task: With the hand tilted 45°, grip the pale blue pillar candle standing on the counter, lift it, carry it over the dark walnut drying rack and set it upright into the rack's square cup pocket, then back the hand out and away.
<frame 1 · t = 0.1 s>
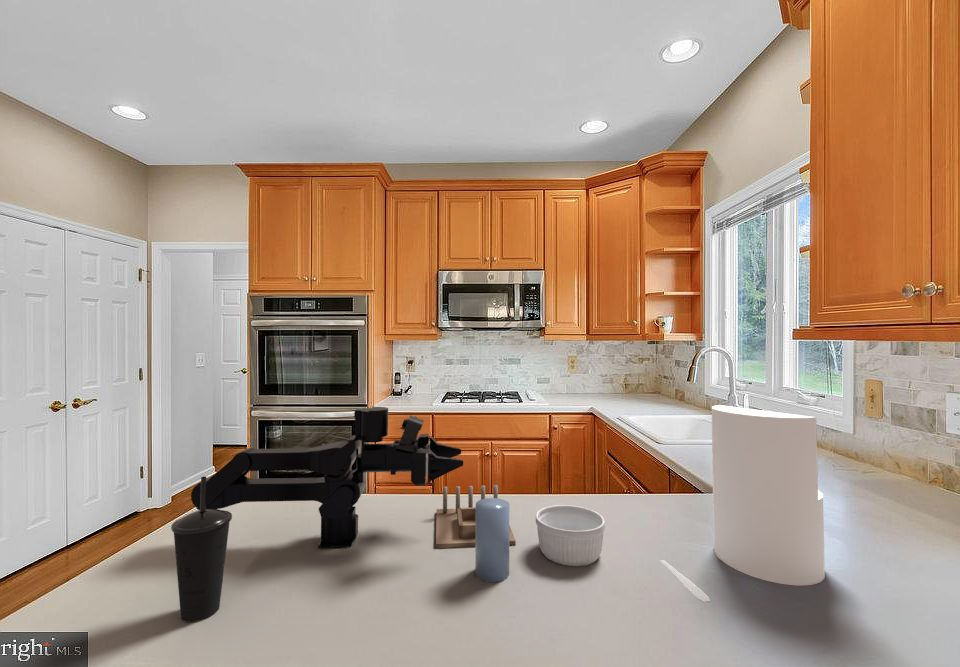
hand: (462, 456, 89), 17 cm above the countertop, tool horizontal, fingers open, 9 cm apart
butter knife: (659, 562, 79), on the countertop
ramekin: (570, 554, 82), on the countertop
drinking cup: (200, 613, 63), on the countertop
pale blue pillar candle: (492, 572, 74), on the countertop
drying rack: (472, 527, 93), on the countertop
cylinder: (766, 560, 79), on the countertop
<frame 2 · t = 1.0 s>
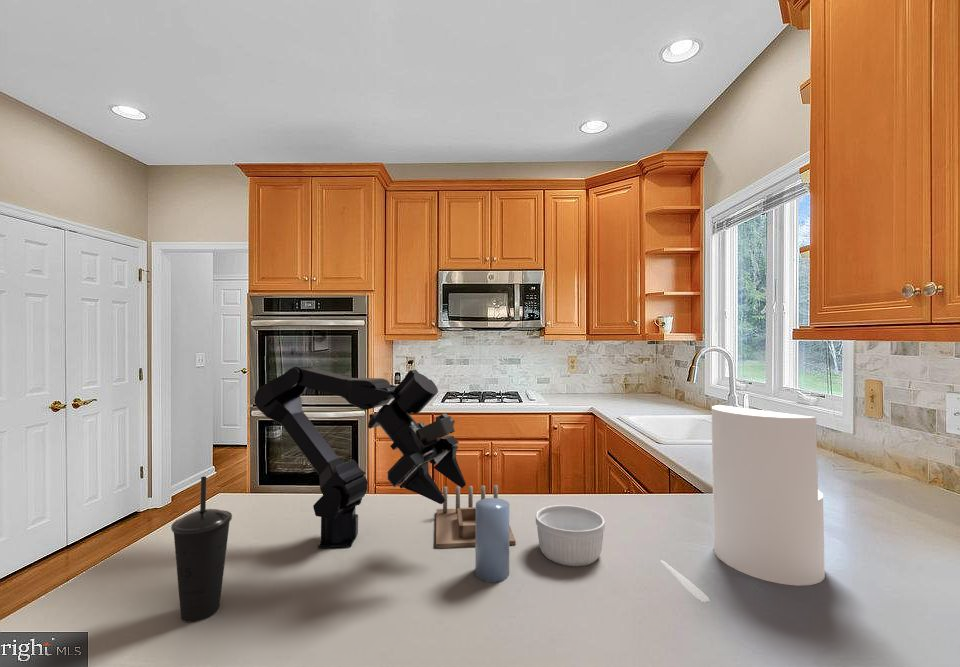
hand: (454, 493, 78), 13 cm above the countertop, tool tilted 45°, fingers open, 9 cm apart
nothing on the countertop moved.
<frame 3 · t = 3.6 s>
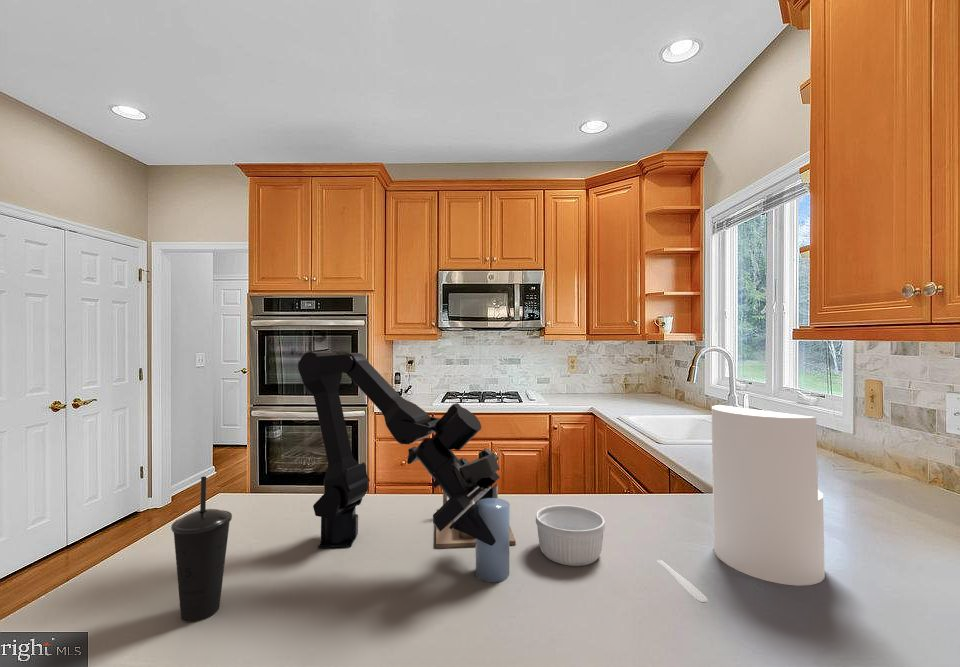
hand: (499, 536, 74), 7 cm above the countertop, tool tilted 45°, fingers closed on pale blue pillar candle, 6 cm apart
pale blue pillar candle: (492, 572, 74), on the countertop, touching gripper
everything else where it was.
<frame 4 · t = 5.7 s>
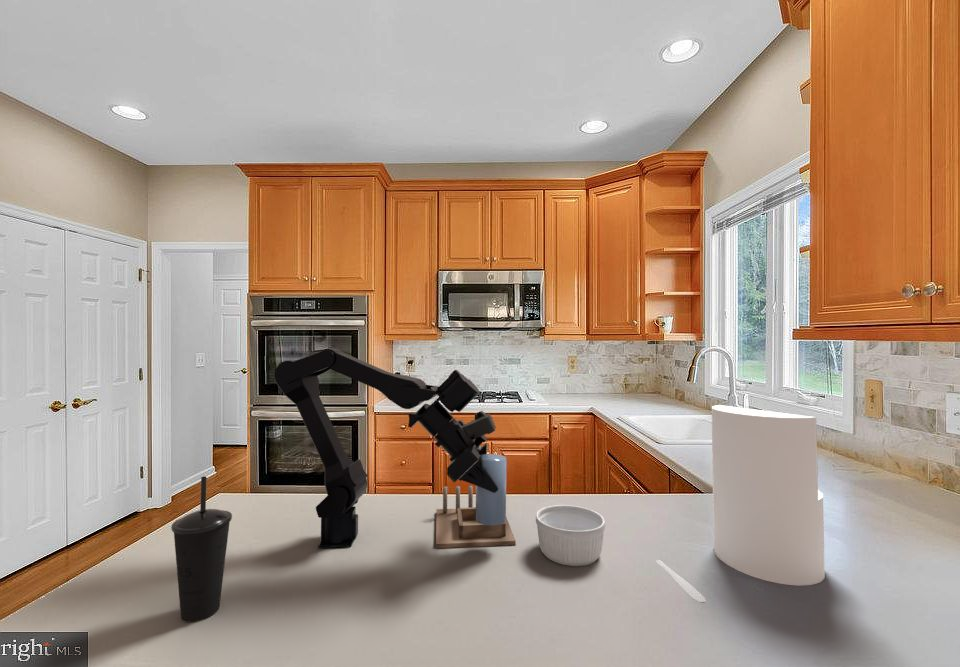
hand: (497, 485, 83), 12 cm above the countertop, tool tilted 45°, fingers closed on pale blue pillar candle, 6 cm apart
pale blue pillar candle: (490, 519, 83), point 6 cm above the countertop, touching gripper
everything else where it was.
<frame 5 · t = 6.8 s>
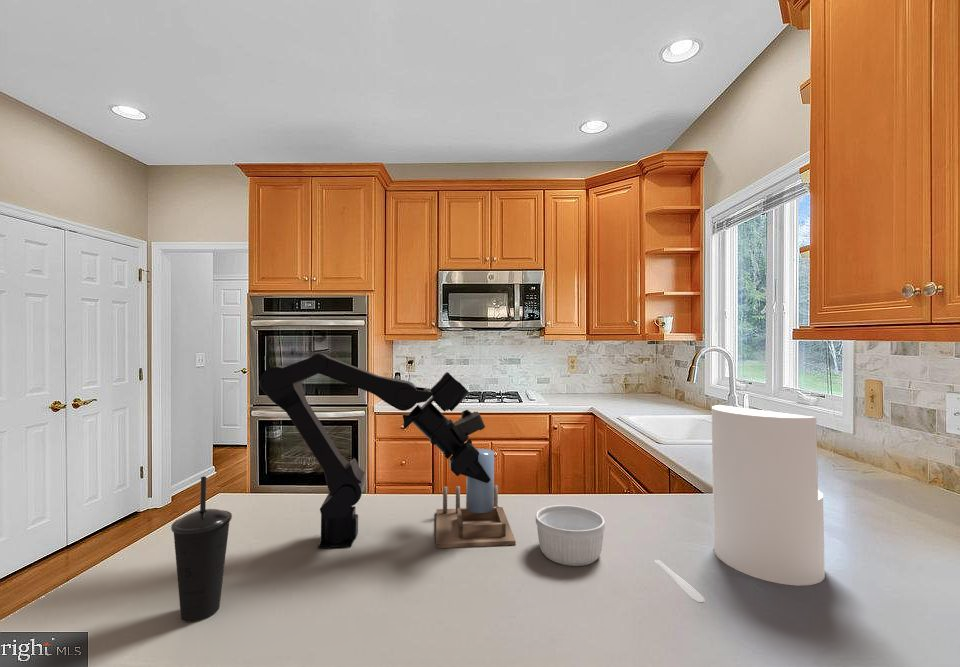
hand: (486, 476, 92), 12 cm above the countertop, tool tilted 45°, fingers closed on pale blue pillar candle, 6 cm apart
pale blue pillar candle: (479, 507, 91), point 5 cm above the countertop, touching gripper
everything else where it was.
when the fingers open (9 cm above the countertop, at t = 7.8 s): pale blue pillar candle drops 1 cm, resting on drying rack.
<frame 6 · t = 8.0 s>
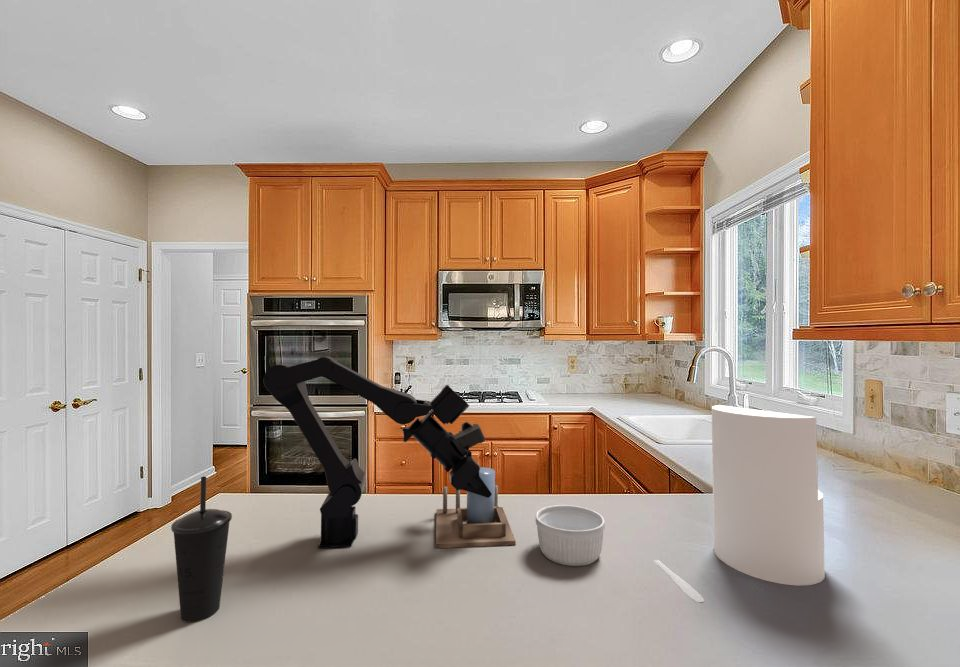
hand: (486, 489, 92), 9 cm above the countertop, tool tilted 45°, fingers open, 8 cm apart
pale blue pillar candle: (480, 527, 91), point 1 cm above the countertop, touching drying rack
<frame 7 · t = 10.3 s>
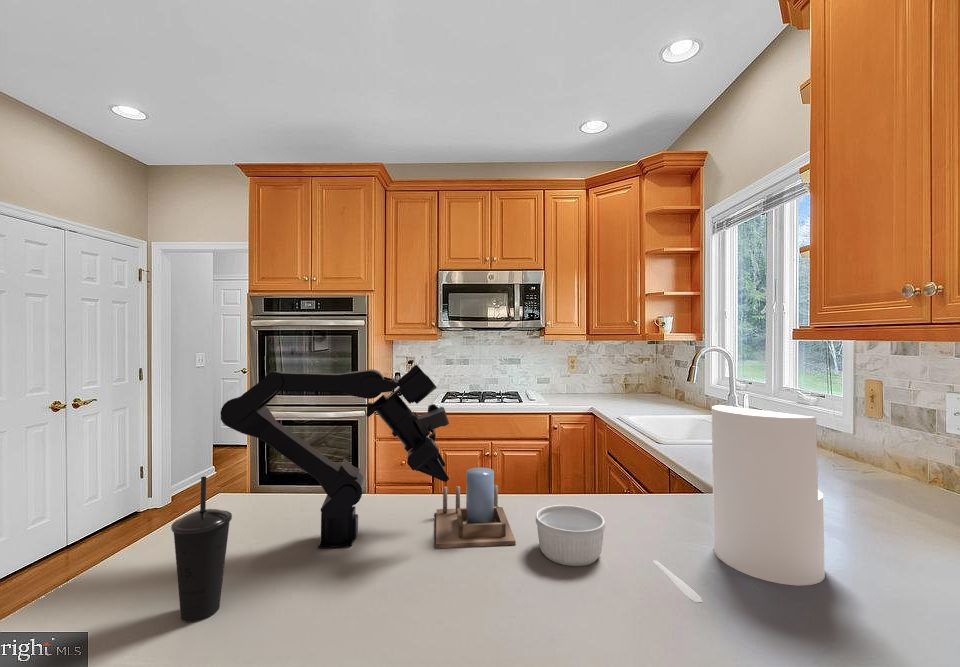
hand: (445, 473, 91), 13 cm above the countertop, tool tilted 40°, fingers open, 9 cm apart
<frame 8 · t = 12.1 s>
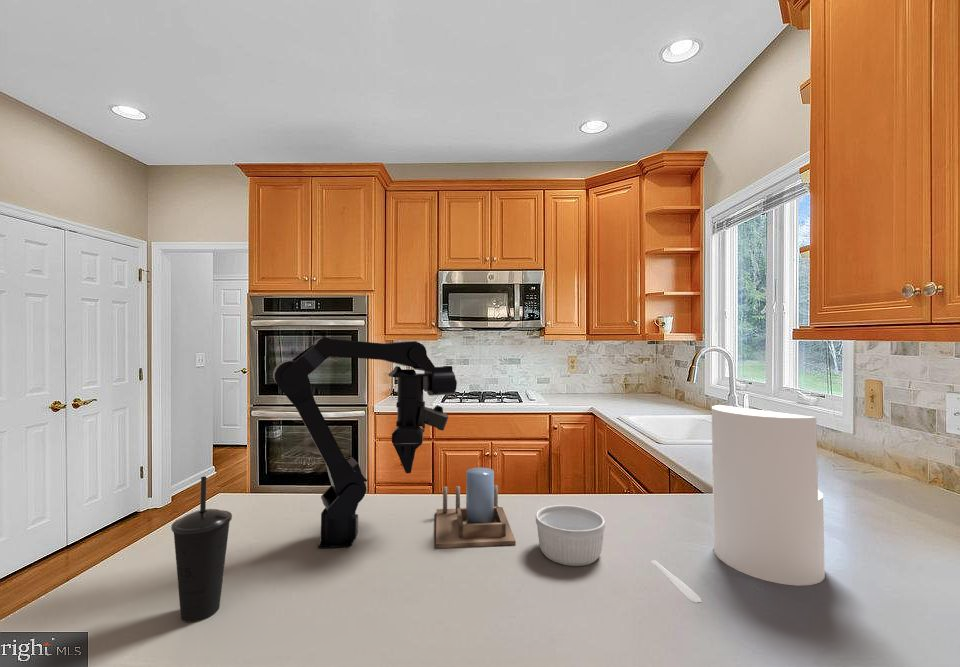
hand: (409, 466, 94), 13 cm above the countertop, tool pointing down, fingers open, 9 cm apart
at the end: pale blue pillar candle 0.1 cm from the target spot on the drying rack, point 0.8 cm above the drying rack's base; pale blue pillar candle tilted 0°; the gripper is holding nothing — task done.
